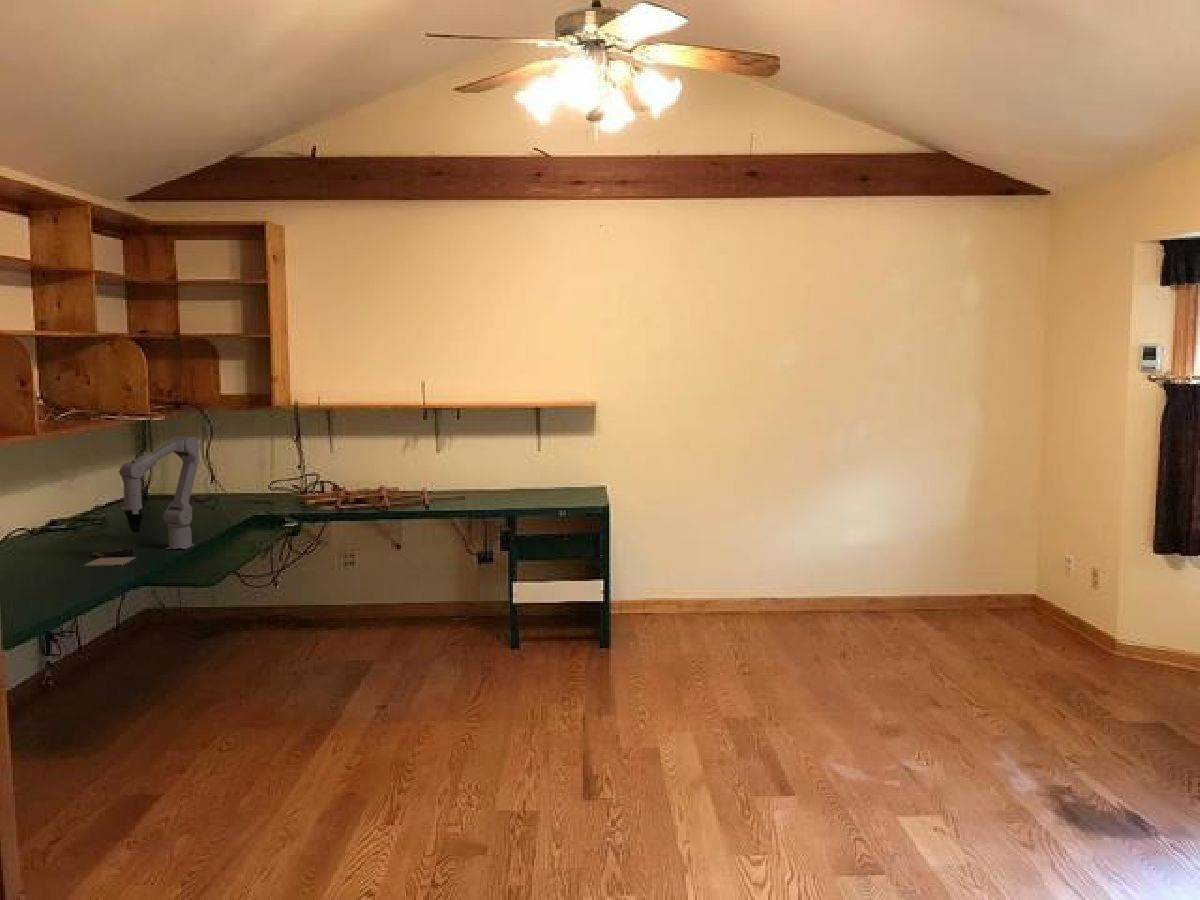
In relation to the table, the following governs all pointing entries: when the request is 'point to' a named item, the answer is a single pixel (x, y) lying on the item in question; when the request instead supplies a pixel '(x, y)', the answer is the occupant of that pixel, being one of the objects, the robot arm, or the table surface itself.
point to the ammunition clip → (113, 553)
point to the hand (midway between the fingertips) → (134, 530)
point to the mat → (110, 561)
